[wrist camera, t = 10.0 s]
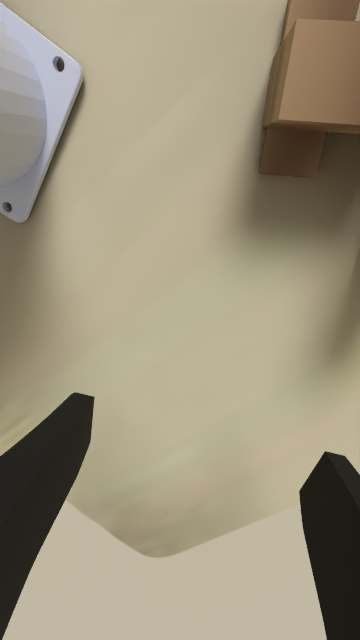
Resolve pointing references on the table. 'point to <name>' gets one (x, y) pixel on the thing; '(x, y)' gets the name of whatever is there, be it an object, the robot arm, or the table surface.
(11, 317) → the table surface
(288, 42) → the walnut rail
